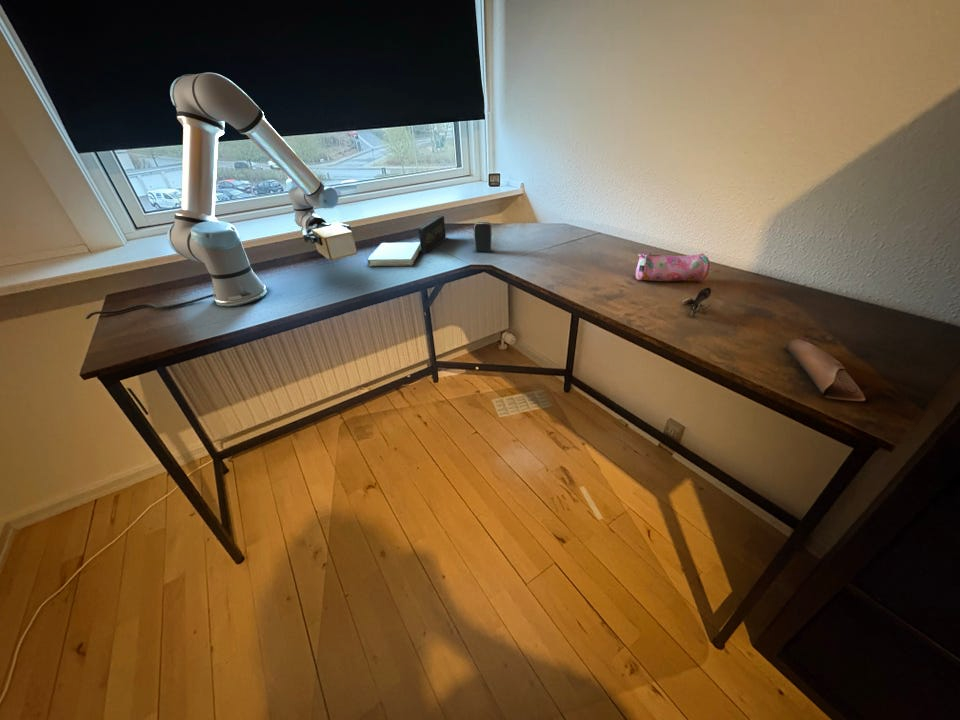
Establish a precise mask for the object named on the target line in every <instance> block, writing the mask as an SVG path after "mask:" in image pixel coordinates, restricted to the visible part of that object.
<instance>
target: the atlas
mask: <svg viewBox="0 0 960 720" xmlns="http://www.w3.org/2000/svg"><path fill="white" fill-rule="evenodd" d="M420 252H421V245H420V241H419V242H381V243H379V245H378V246H377V247H376V248H375V250H374V251H373V252H372V253H371V254H370V256H368V258H367V259H366V260H367V266H368V267H392V266H393V267H403V266H405V267H406V266H407V267H409V266H410V267H412V266H413V264H414V262H415V261H416V259H417V257H418V255H419V253H420Z"/></svg>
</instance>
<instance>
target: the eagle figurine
mask: <svg viewBox="0 0 960 720" xmlns="http://www.w3.org/2000/svg"><path fill="white" fill-rule="evenodd" d="M711 294H712V289H711V287H705V288H703V289H701V290H700V291H698V292H697V294H696V296H695V298H693V297H690V298H687V299H685V300H683V301H682V305H683V306H685V305H688V306H689V307H690V308H689V309H688V311H691V313H690V315H689V316H690V317H692V316H694V315H695V314H696V313H697V312H698V311H699V312H701V313H703V309H707V308H709V307H710V306H711V304H707V305H705V306H703V303H702V302H703V301H705V300H707V299H709V298H710V296H711Z"/></svg>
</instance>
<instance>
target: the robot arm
mask: <svg viewBox="0 0 960 720" xmlns="http://www.w3.org/2000/svg"><path fill="white" fill-rule="evenodd" d="M169 89H170V90H169V95H170V101H171V102H172V105H173V106H174V108H175V109H176V119H177V120H178V122H179V123H180V124H181V126H182V129H183V130H182V131H183V132H182V158H181V159H182V163H181V165H182V166H181V195H180V196H181V201H180V209H179V210H178V211H176V212H174V223H173V224H171V225H170V226H169V228H168V230H167V234H166V236H167V237H166V238H167V243H168V244H169V246H170V248H171V249H172V250H173V251H174V252H175V253H176V254H178V255H179V256H181V257H183V258H185V259H187V260H189V261H194V262H199V263H201V264H202V263H203V264H204V265H205V267H206V269H207V272H208V274H209V275H210V277H211V281H212V292H213V293H212V294H208V295H205V296H202V297H198V298H195V299H191V300H188V301H185V302H180V303H176V304H170V305H157V304H154V303H149V302H148V303H140V304H135V305H132V306H127V307H123V308H121V309H115V310H98V311H92V312H90V313H88V314H87V315H86V316H85V320H89V319H91V318H92V317H93V316H95V315H102V314H105V315H107V314H118V313H123V312H126V311H131V310H134V309H138V308H141V307H153V308H155V309H159V310H160V309H162V310H164V309H172V308H173V309H174V308H177V307H182V306H186V305H190V304H193V303H196V302H199V301H203V300H207V299H210V298H213V299H214V301H215V304H216V305H218V306H220V307H238V306H243V305H247V304H251V303H253V302H256V301H258V300H260V299H262V298H263V297H264V296H265V295H266V294H267V293H268V290H267V288H266V285H265V284H264V283H263V282H262V280H261V279H260V278H259V276H257V274H256V272H254V271H253V268H252V266H251V262H250V261H249V258H248V256H247V255H248V254H247V253H246V250H245V248H244V245H243V243H242V240H241V236H240V234H239V233H238V231H237V229H236V227H235V226H234V225H233V223H230V222H228V221H223V220H218V219H217V218H216V216H215V209H216V192H217V191H216V190H217V189H216V187H217V167H218V165H217V164H218V147H219V137H221V136H223V135H224V134H225V125H226V123H227V124H228V125H230V126H231V127H233V128H234V129H235V130H236V131H237V133H239V134H241V135H246V136H247V137H248V138H249V139H250V140H251V141H252V142H253V143H254V144H255V145H256V146H257V147H258V148H259V149H260V150H261V151H262V152H263V153H264V154H265V155H266V157H268V158H269V159H270V160H271V162H272V163H274V164H275V165H276V166H277V168H278V169H279V170H281V171H282V173H284V174H285V176H287V177H288V179H287V180H286V181H285V184H286V189H287V193H288V196H289V200H290V202H291V205H292V209H293V213H294V216H293V220H294V222H295V224H296V225H297V226H298V227H299V226H300V227H302V228H300V227H299V228H300V231H301V234H302V237H303V240H304V243H308V242H309V241H310V244H315V242H316V243H318V244H319V245H323V244H322V240H321V237H319V236H318V235H316V234H315V233H314V234H313V232H312V230H313V229H318V228H323V227H327V226H332V225H337V224H339V225H341V226H343V227H345V228H346V229H348V230H350V231H352V228H351V225H350V224H346V223H341V222H338V221H333V223H327V221H326V219H324V218H322V217H321V216H318V215H317V214H316V211H315V208H320V209H334V208H336V206H337V205H338V202H339V195H338V193H337V191H336V190H335V189H334V188H333V187H330V186H327V185H325V184H324V183H323V181H321V180H320V179H319V178H318V177H317V175H316V174H315V173H314V172H313V171H312V170H311V169H310V168H309V167H308V166H307V165H306V164H305V162H304V160H302V159H301V158H300V156H298V154H297V153H296V152H295V151H294V150H293V149H292V148H291V147H290V146H289V144H288V143H287V142H286V141H285V139H284V138H283V137H282V136H281V135H280V134H279V133H278V132H277V131H276V130H275V128H273V126H272V125H271V124H270V123H269V122H268V121H267V119H266V118H265V115H264V112H263V110H262V109H261V108H260V107H259V105H258V104H257V103H256V102H255V101H254V100H253V99H252V98H251V97H250V96H249V95H248V94H247V93H246V92H245V91H244V90H243V89H242V88H240V87H239V86H238V85H237V84H236V83H234V82H233V81H232V80H230V79H229V78H228V77H225V76H223V75H221V74H219V73H216V72H203V73H196V74H194V73H188V74H183V75H181V76H179V77H177V78H176V79H174V80H173V82H172V83H171V85H170V88H169ZM314 207H315V208H314ZM126 389H127V391H128V392H129V393H130V396H132V397H133V399H134V400H135V402H136V403H137V404H138V405H139V407H140V408H141V410H142V411H143V413H144V414H145V415H146V416H148V415H149V414H150V412H148V410H147V409H146V407H145V405H143V403H142V402H141V401H140V399H139V398H138V396H137V395H136V393H135V392H134V391H133V390H132V389H131V388H130V387H127V388H126Z"/></svg>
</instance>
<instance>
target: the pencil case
mask: <svg viewBox="0 0 960 720" xmlns="http://www.w3.org/2000/svg"><path fill="white" fill-rule="evenodd" d="M637 256H638V262H637V265H636V268H635V279H636V280H638V281H654V282H678V281H687V282H691V281H694V282H699V283H702V282H703V281H704V280H705V279H706V278H707V276H708V274H709V271H710V260H709V257H708V256H707V255H705V254H704V253H697V254H690V255H669V254H668V255H666V254H658V253H652V252H648V253H646V252H645V253H638V254H637Z"/></svg>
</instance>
